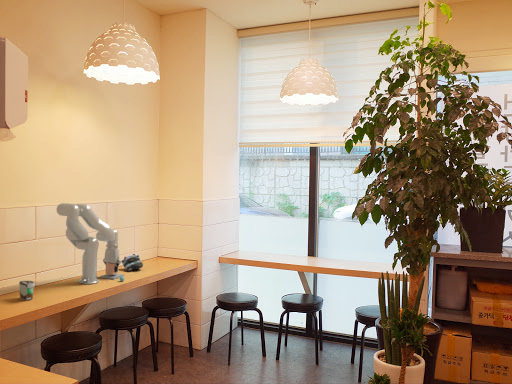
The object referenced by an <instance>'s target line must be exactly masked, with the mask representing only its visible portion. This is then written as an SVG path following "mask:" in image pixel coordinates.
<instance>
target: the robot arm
mask: <svg viewBox="0 0 512 384" xmlns="http://www.w3.org/2000/svg"><path fill="white" fill-rule="evenodd" d="M56 213H57V214H58V215H59V216H62V217H66V221H65V226H66V230H65V237H66V239H68V241H69V242H70V243H71V244H72V245H73V246H74V248H76V249H78V250H82V251H84V252H83V254H82V260H81V264H82V265H81V267H82V270H81V272H82V274H81V275H82V276H81V277H80V278H79V279H78V280H77V282H78V283H80V284H81V285H93V284H98V283H99V282H100V279H98V277H97V276H98V249H99V246H100V245H99V244H100V243H99V242H106V244H105V247H106V248H105V252H104V258H103V259H102V262H103V263H104V265H105V266H106V263H115V272H118V273H119V266H120V265H121V264H122V259H120V250H119V248H118V246H119V245H118V244H119V242H118V241H119V238H118V237H119V232H118V230H116V229H112V227H110V225H108V224H107V223H106V222H104V221H103V220H102V219H100V218H99V216H98V215H97V214H96V213H95V212H94V210H93V209H92V207H91V206H90V205H88V204H85V203H69V202H67V203H65V202H61V203H59V204H58V205H57V206H56ZM79 217H81V218H82V220H83V221H84V222H85V224H86V225H87V226H88V227H89V228H91V229H92V230H95V231H96V234H95V237H94V236H89V232H88V230H87V228H85V226H84V225H83V224H82V223H81V222H80V220H79ZM118 262H119V263H118ZM116 263H117V264H116Z"/></svg>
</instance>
